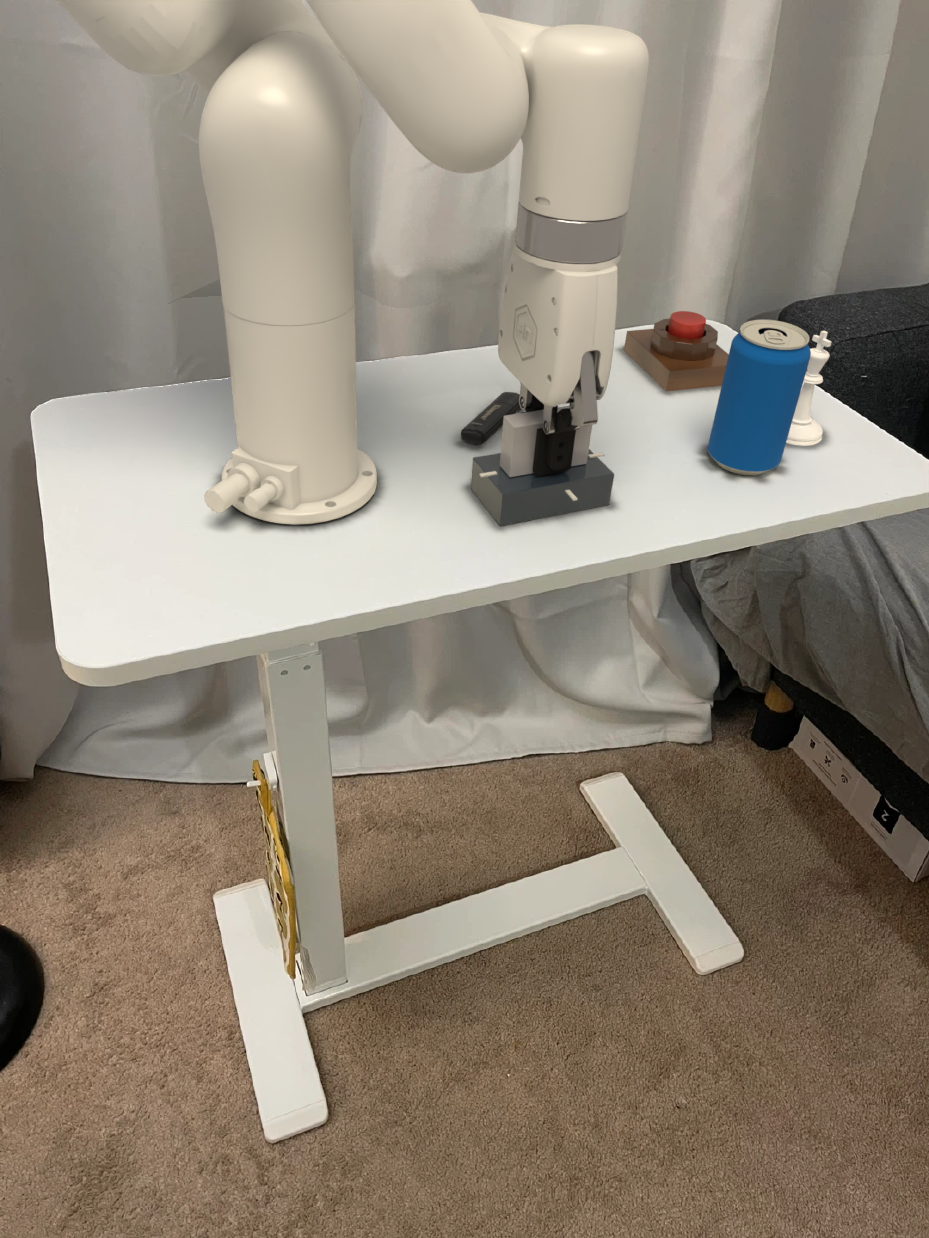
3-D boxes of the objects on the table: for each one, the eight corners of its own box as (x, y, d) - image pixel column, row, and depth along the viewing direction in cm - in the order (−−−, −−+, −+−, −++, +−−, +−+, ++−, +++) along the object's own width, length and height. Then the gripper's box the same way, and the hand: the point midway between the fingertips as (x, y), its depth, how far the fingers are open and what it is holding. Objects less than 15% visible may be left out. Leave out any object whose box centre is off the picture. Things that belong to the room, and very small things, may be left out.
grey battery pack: (509, 478, 79) (514, 424, 76) (499, 465, 81) (503, 412, 78) (586, 464, 82) (594, 411, 79) (575, 452, 83) (582, 400, 80)
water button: (709, 340, 101) (712, 323, 100) (677, 343, 100) (680, 326, 99) (692, 326, 104) (695, 309, 103) (661, 328, 103) (664, 312, 102)
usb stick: (501, 401, 96) (502, 386, 95) (526, 408, 96) (527, 393, 95) (456, 442, 90) (457, 427, 89) (483, 450, 89) (484, 434, 88)
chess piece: (791, 416, 97) (819, 316, 91) (832, 437, 94) (864, 336, 88) (757, 428, 95) (784, 327, 88) (798, 451, 92) (829, 347, 85)
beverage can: (773, 446, 92) (807, 321, 84) (783, 483, 87) (821, 353, 79) (702, 440, 92) (730, 314, 85) (709, 476, 87) (739, 345, 80)
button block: (736, 384, 102) (745, 347, 99) (666, 392, 100) (673, 354, 97) (689, 344, 109) (697, 309, 107) (623, 350, 107) (629, 314, 105)
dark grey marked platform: (506, 545, 77) (510, 511, 75) (451, 474, 85) (453, 441, 83) (631, 520, 81) (638, 486, 79) (568, 454, 89) (572, 422, 87)
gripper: (475, 201, 74) (462, 425, 86) (575, 278, 63) (546, 523, 74) (565, 195, 77) (541, 413, 88) (677, 267, 65) (633, 506, 77)
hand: (543, 461), depth 81 cm, fingers closed on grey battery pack, 2 cm apart
